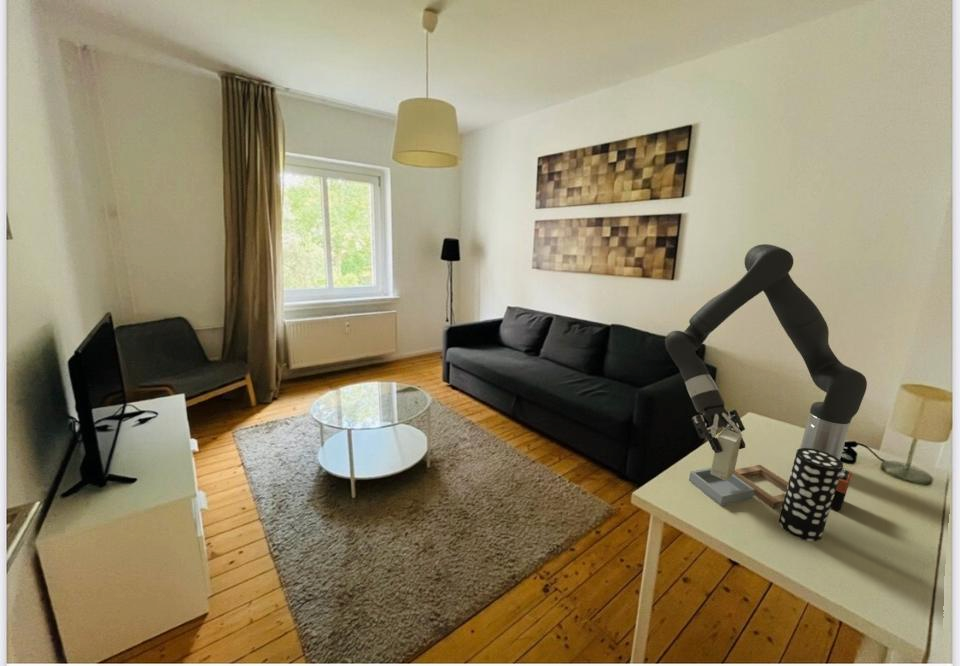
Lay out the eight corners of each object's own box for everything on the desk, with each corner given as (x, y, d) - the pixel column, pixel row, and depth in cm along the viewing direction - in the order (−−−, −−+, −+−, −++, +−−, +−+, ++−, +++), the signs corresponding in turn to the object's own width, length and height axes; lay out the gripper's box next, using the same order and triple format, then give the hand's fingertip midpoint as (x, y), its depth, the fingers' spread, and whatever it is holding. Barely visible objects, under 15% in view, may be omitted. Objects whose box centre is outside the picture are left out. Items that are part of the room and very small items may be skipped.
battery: (818, 503, 104) (827, 471, 101) (822, 492, 108) (832, 461, 106) (839, 512, 101) (850, 479, 98) (843, 500, 105) (853, 469, 103)
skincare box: (726, 482, 105) (735, 442, 101) (709, 474, 108) (717, 435, 104) (734, 472, 109) (743, 434, 105) (717, 465, 112) (725, 427, 108)
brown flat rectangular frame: (758, 470, 118) (760, 464, 117) (806, 501, 105) (808, 494, 104) (727, 476, 115) (728, 470, 114) (772, 509, 102) (774, 502, 101)
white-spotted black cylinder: (771, 514, 100) (789, 446, 95) (807, 518, 99) (827, 449, 93) (790, 538, 92) (810, 466, 87) (829, 543, 91) (852, 470, 85)
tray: (719, 474, 116) (720, 465, 115) (752, 498, 106) (754, 489, 105) (688, 480, 113) (690, 471, 112) (720, 506, 103) (722, 496, 102)
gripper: (692, 391, 107) (719, 451, 100) (733, 386, 111) (762, 443, 104) (675, 400, 114) (699, 457, 106) (714, 395, 118) (740, 450, 110)
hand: (730, 450), depth 105 cm, fingers closed on skincare box, 7 cm apart
